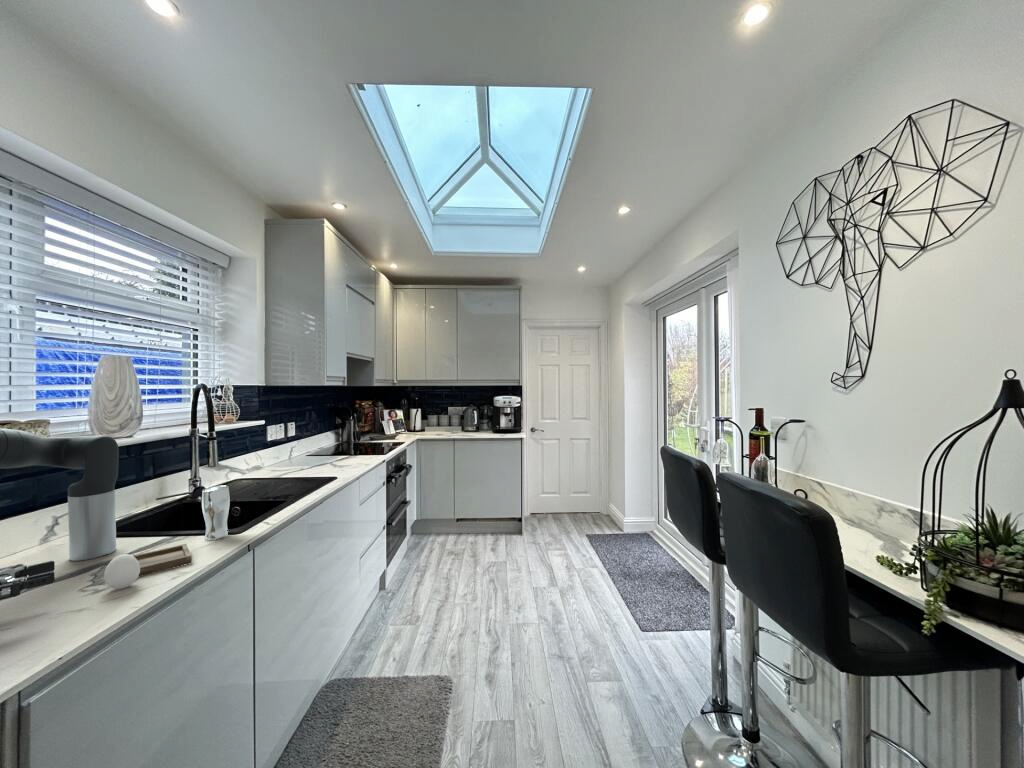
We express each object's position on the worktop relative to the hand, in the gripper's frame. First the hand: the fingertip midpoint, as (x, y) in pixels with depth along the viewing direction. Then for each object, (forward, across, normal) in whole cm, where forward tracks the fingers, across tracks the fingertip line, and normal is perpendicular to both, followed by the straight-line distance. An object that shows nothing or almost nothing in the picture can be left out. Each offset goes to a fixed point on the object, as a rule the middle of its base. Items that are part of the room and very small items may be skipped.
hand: (54, 570), depth 87 cm
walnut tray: (+18, +11, +7) cm, 22 cm away
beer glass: (+34, +22, +7) cm, 41 cm away
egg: (+10, 0, +8) cm, 13 cm away
